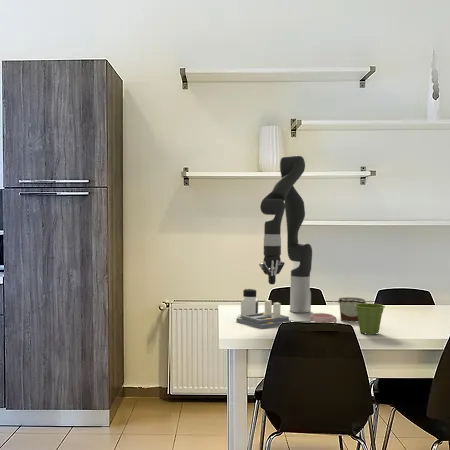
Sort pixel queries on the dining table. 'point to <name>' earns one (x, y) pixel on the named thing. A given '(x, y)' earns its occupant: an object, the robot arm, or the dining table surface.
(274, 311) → the tab
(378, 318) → the plant pot
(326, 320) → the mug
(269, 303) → the tab
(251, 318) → the dark gray tray
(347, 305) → the food container
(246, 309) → the medicine bottle
